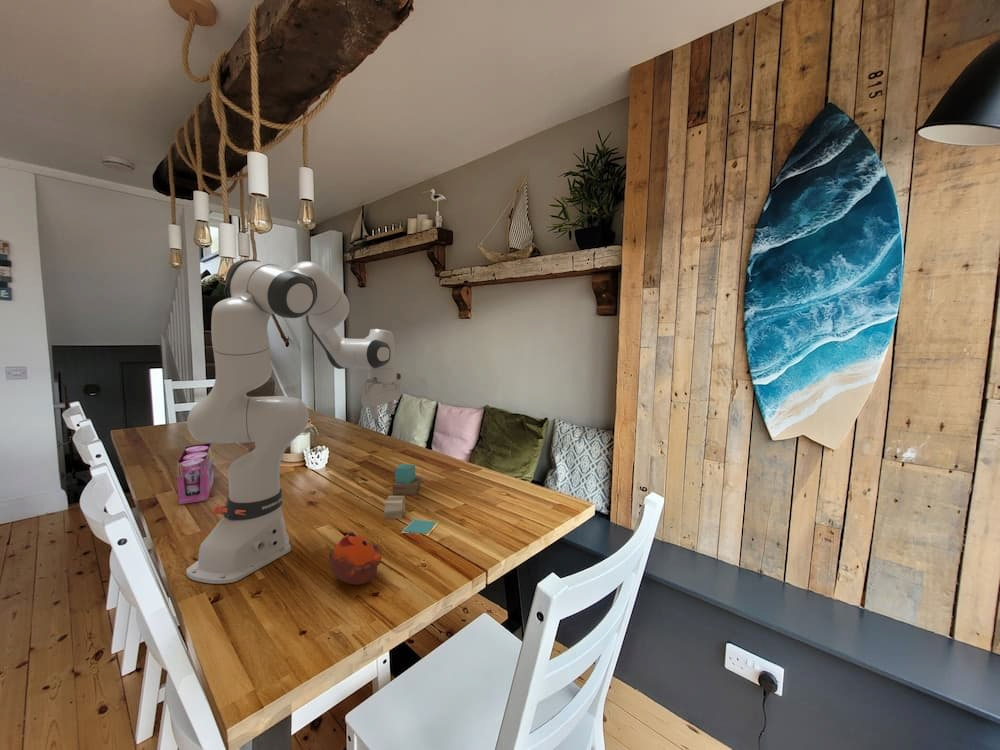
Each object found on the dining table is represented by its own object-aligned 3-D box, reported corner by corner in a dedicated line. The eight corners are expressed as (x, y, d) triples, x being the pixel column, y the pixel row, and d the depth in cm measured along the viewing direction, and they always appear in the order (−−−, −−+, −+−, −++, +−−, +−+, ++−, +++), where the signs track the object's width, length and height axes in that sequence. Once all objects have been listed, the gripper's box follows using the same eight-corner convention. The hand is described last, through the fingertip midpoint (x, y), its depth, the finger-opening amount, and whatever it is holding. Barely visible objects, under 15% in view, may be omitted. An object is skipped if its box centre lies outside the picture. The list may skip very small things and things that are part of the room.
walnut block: (416, 496, 140) (416, 484, 139) (392, 495, 140) (392, 484, 139) (420, 487, 148) (420, 476, 147) (398, 486, 148) (398, 476, 147)
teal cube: (408, 483, 140) (408, 469, 140) (395, 482, 142) (395, 468, 141) (415, 478, 145) (415, 465, 144) (402, 477, 146) (402, 463, 146)
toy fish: (319, 582, 91) (317, 533, 90) (359, 560, 100) (358, 516, 99) (353, 602, 85) (352, 550, 84) (392, 577, 94) (392, 530, 92)
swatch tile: (428, 537, 112) (428, 534, 112) (401, 533, 114) (401, 531, 114) (438, 523, 120) (438, 521, 120) (413, 520, 122) (413, 518, 121)
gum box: (208, 502, 132) (205, 461, 130) (177, 507, 128) (174, 464, 126) (214, 478, 152) (212, 442, 151) (187, 482, 148) (185, 445, 147)
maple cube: (401, 518, 123) (401, 502, 122) (384, 518, 122) (384, 502, 122) (404, 511, 128) (404, 495, 127) (388, 511, 127) (388, 495, 127)
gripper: (373, 379, 129) (374, 422, 131) (403, 374, 149) (404, 411, 151) (356, 379, 131) (357, 421, 132) (388, 373, 151) (388, 410, 152)
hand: (382, 416), depth 142 cm, fingers open, 8 cm apart
